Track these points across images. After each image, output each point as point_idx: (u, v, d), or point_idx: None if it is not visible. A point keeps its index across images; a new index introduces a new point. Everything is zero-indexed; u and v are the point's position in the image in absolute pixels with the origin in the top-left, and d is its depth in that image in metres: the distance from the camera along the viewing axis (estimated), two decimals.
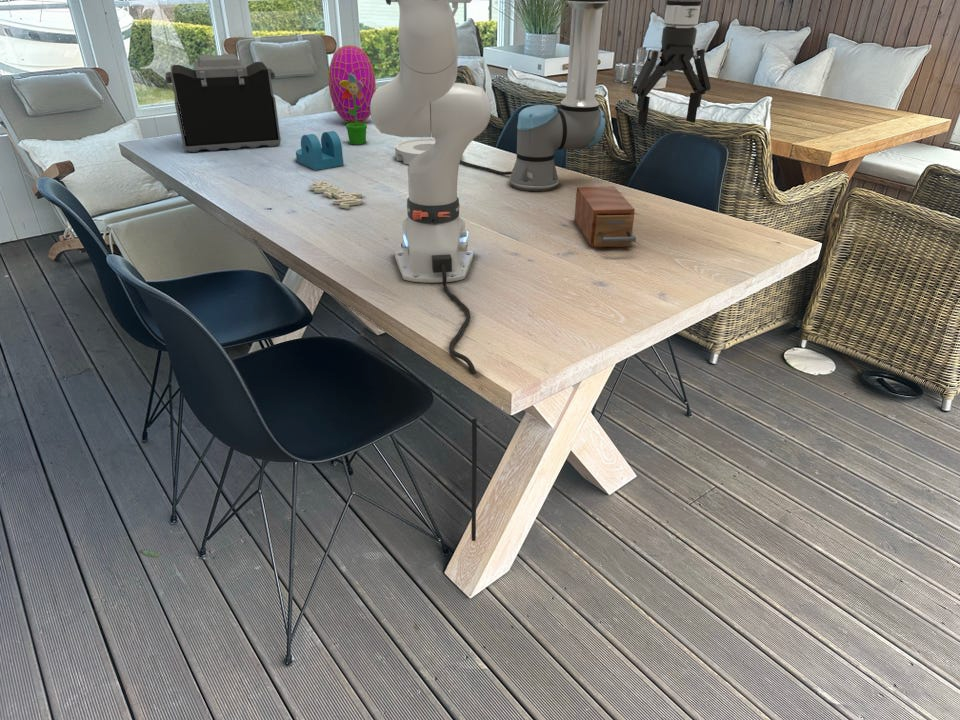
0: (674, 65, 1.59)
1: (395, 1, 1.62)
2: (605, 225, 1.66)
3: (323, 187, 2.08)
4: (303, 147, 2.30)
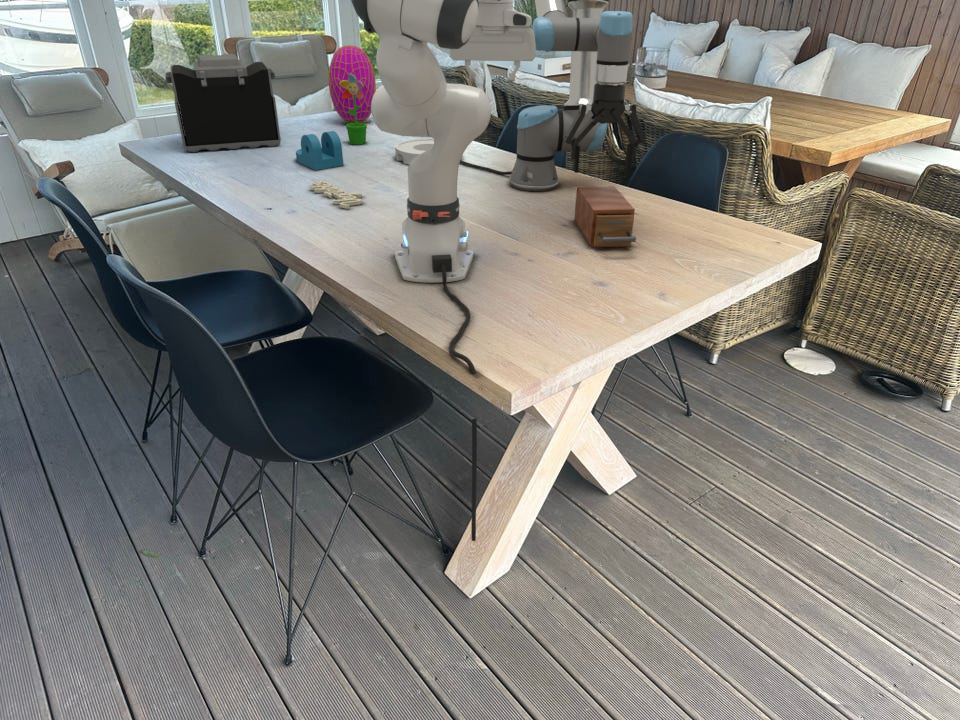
0: None
1: (457, 59, 1.60)
2: (605, 225, 1.66)
3: (323, 187, 2.08)
4: (303, 147, 2.30)
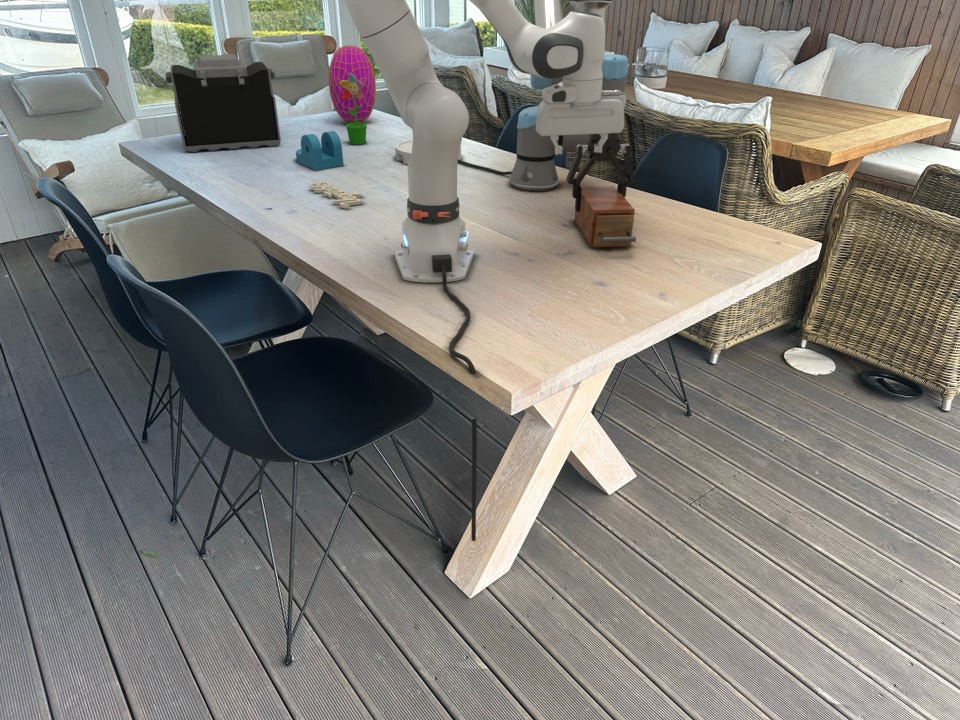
0: None
1: None
2: (605, 225, 1.66)
3: (323, 187, 2.08)
4: (303, 147, 2.30)
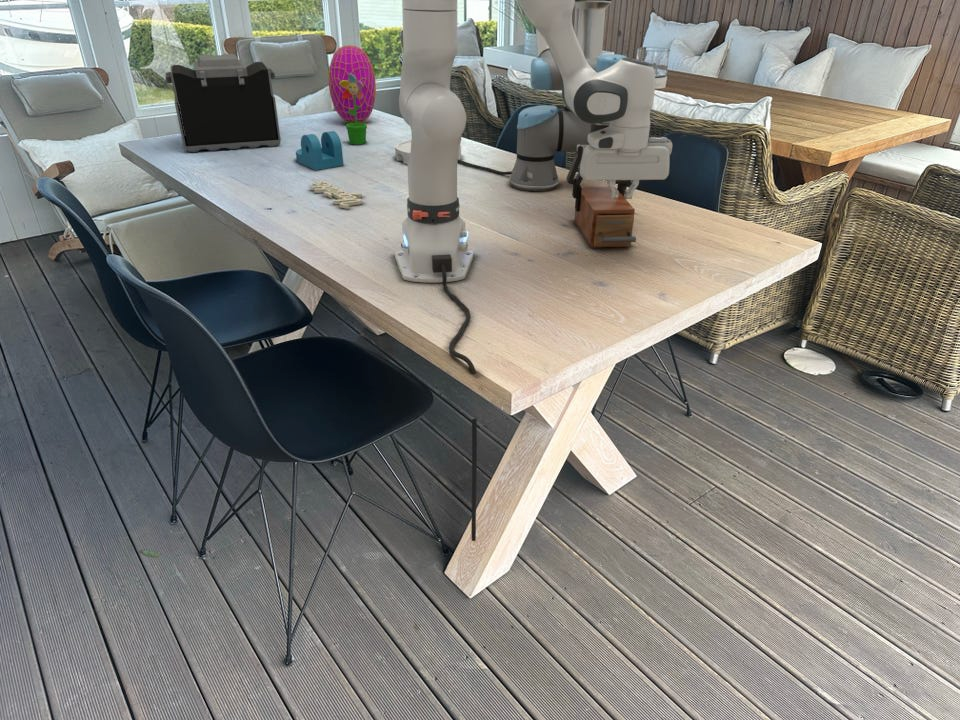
0: None
1: None
2: (605, 225, 1.66)
3: (323, 187, 2.08)
4: (303, 147, 2.30)
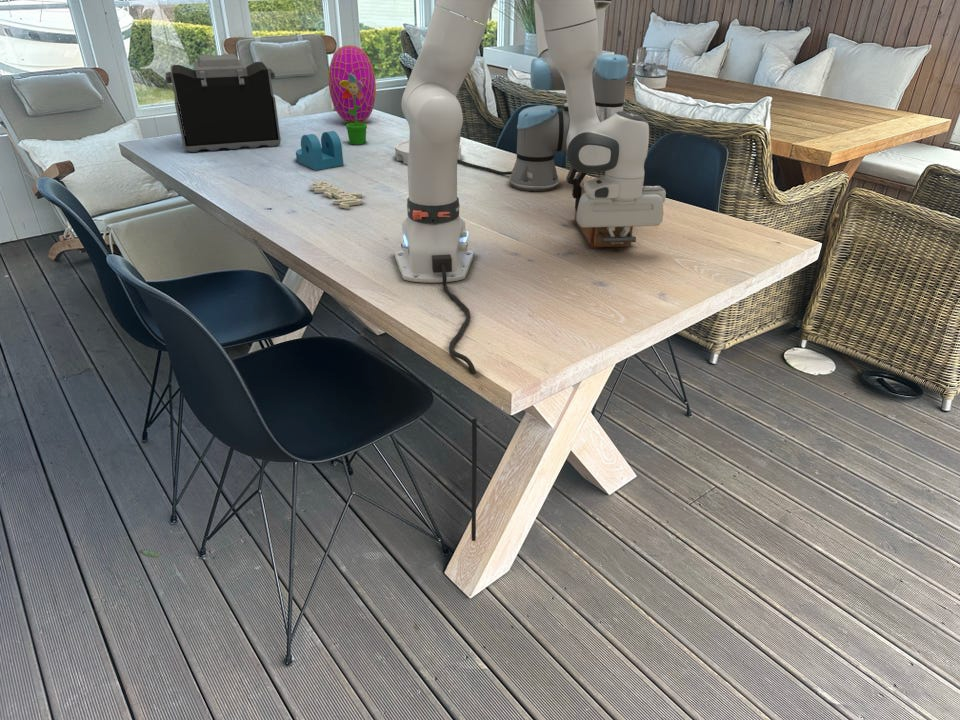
0: None
1: None
2: None
3: (323, 187, 2.08)
4: (303, 147, 2.30)
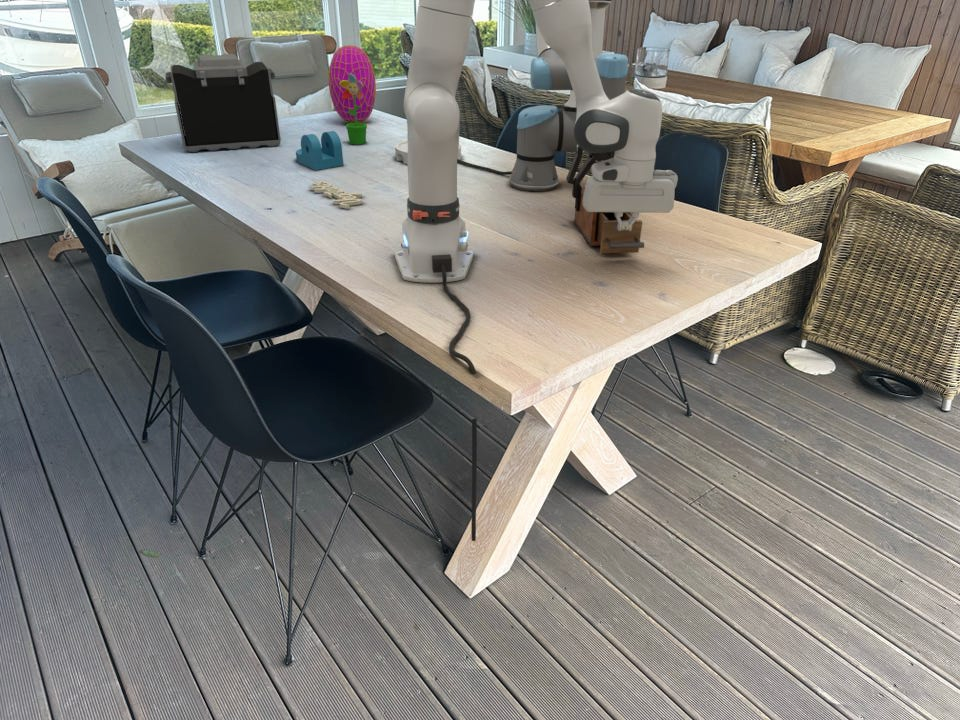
0: None
1: None
2: (612, 231, 1.59)
3: (323, 187, 2.08)
4: (303, 147, 2.30)
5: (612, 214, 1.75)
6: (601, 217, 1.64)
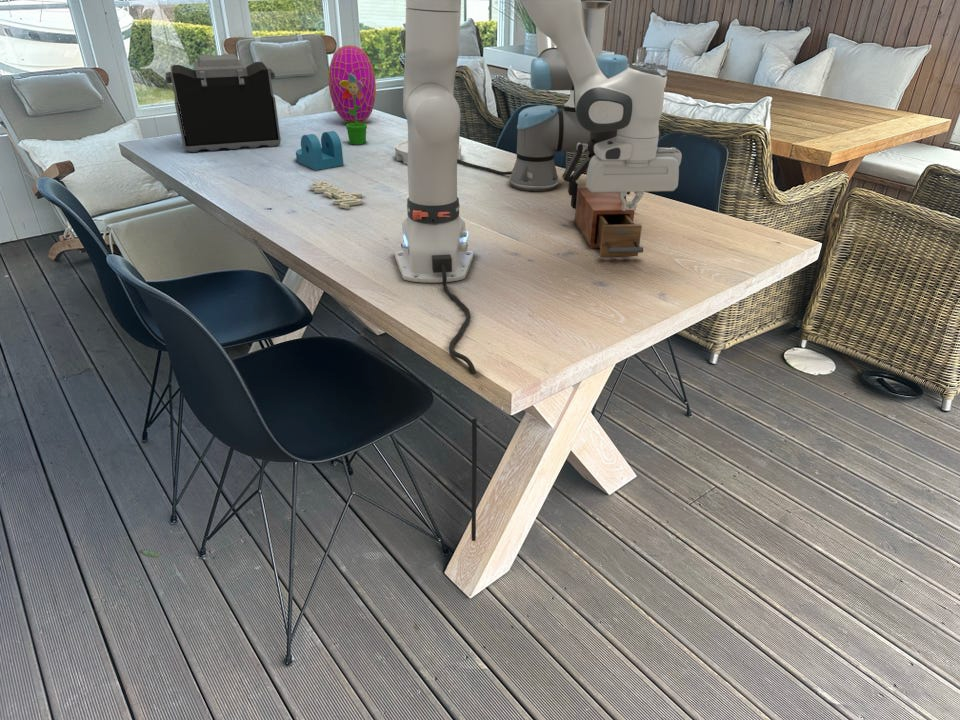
0: None
1: None
2: (612, 235, 1.60)
3: (323, 187, 2.08)
4: (303, 147, 2.30)
5: (612, 215, 1.76)
6: (601, 220, 1.64)
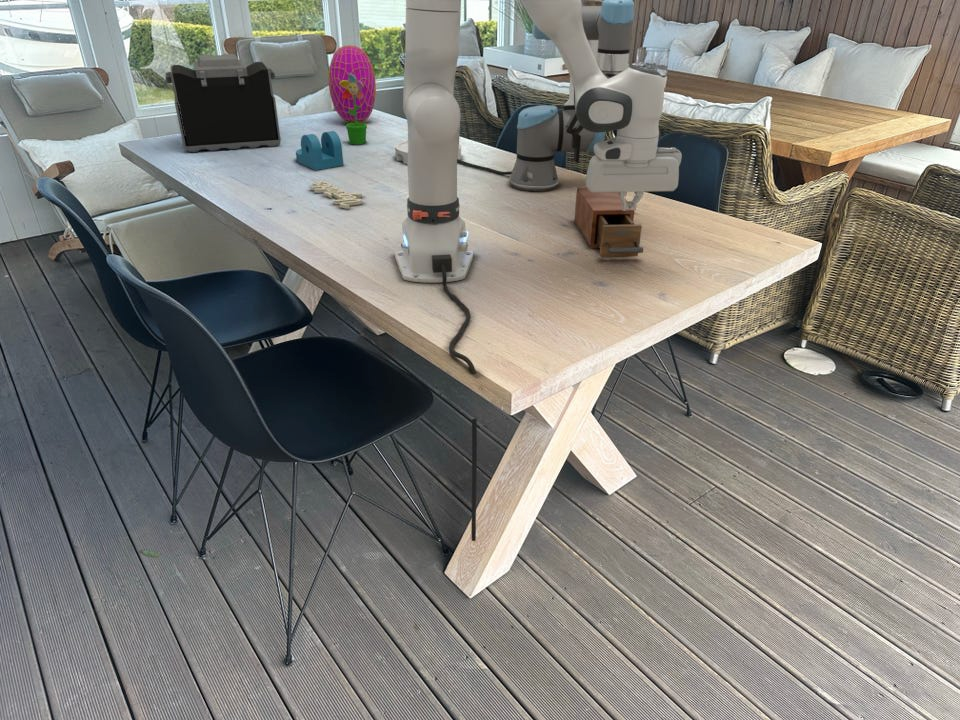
0: None
1: None
2: (612, 235, 1.60)
3: (323, 187, 2.08)
4: (303, 147, 2.30)
5: (612, 215, 1.76)
6: (601, 220, 1.64)
